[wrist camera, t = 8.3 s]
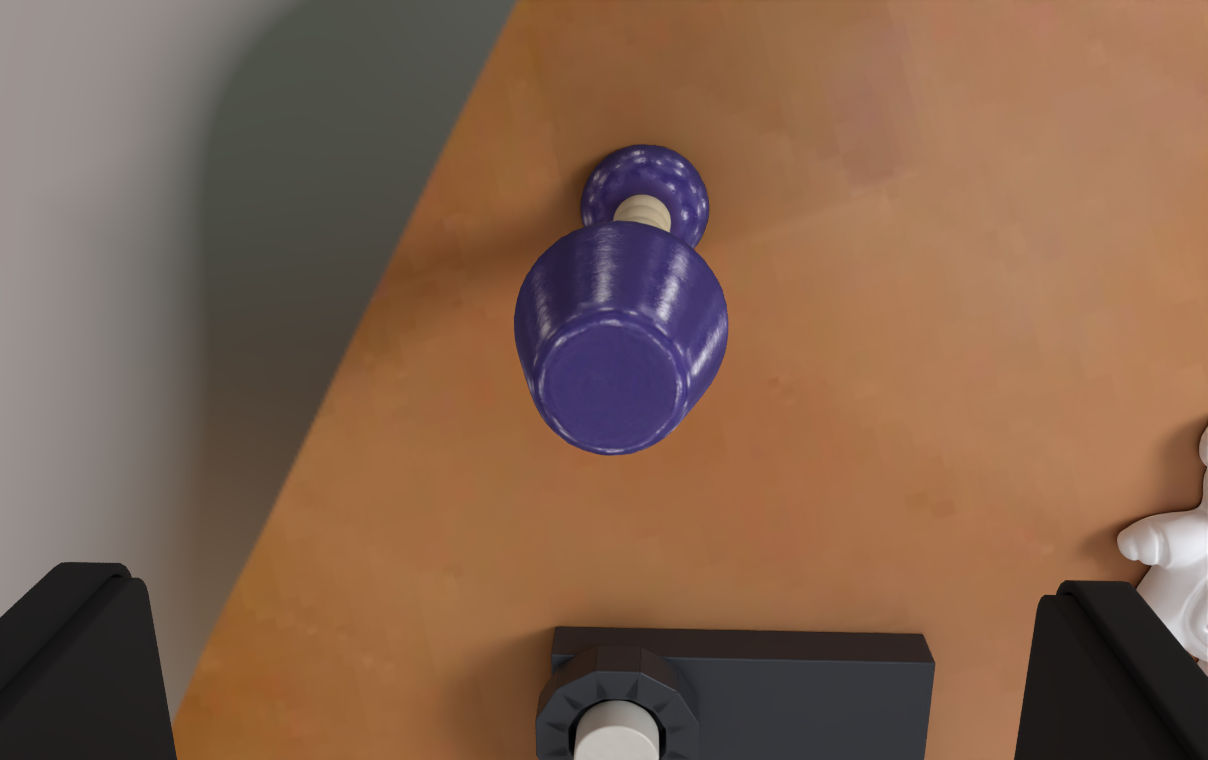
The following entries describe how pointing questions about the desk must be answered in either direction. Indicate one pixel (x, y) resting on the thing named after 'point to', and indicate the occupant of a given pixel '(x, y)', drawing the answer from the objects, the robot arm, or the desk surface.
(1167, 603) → the white flat figure
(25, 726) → the robot arm
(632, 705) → the button
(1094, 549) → the desk surface
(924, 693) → the scale
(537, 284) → the toy lamp
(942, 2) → the desk surface
